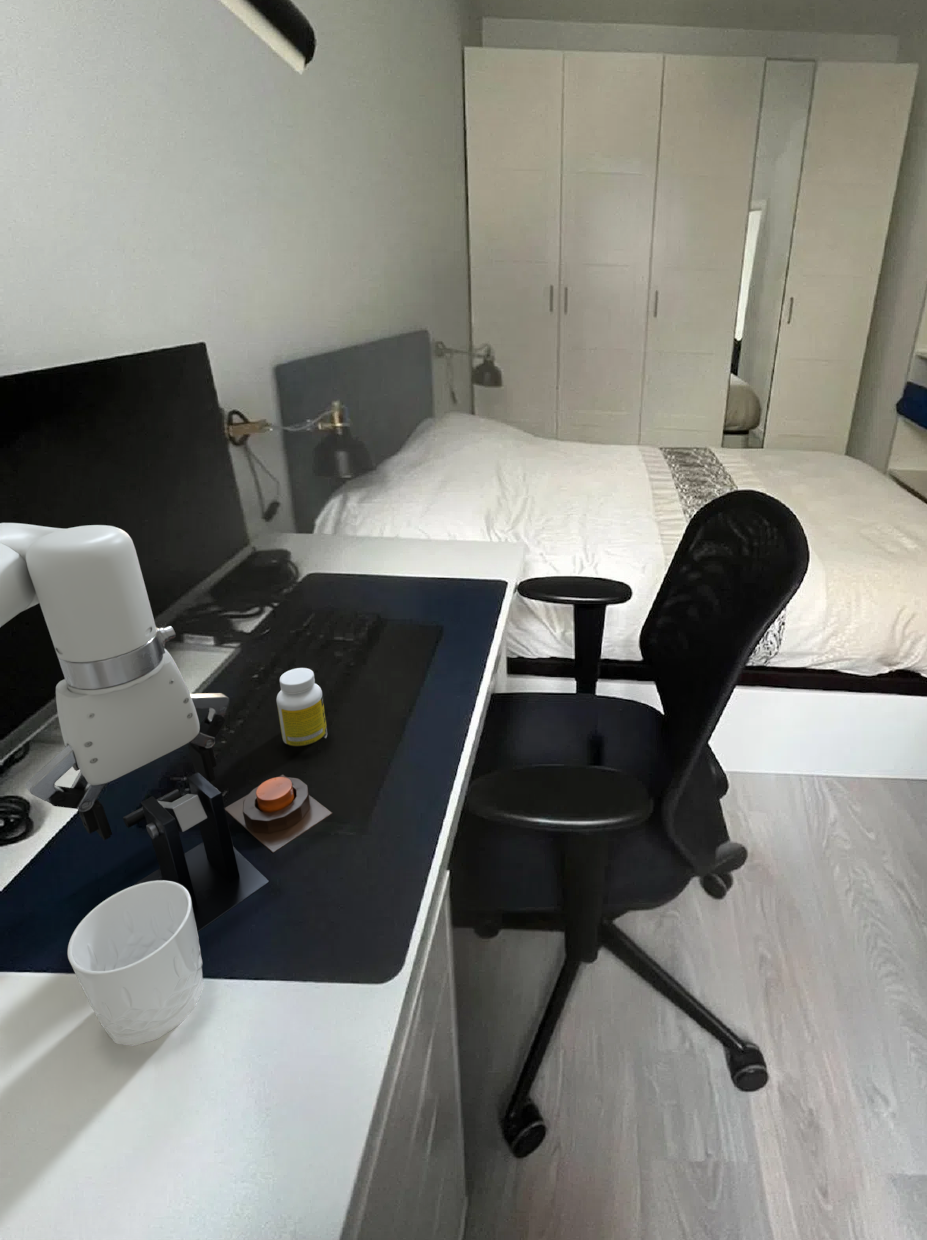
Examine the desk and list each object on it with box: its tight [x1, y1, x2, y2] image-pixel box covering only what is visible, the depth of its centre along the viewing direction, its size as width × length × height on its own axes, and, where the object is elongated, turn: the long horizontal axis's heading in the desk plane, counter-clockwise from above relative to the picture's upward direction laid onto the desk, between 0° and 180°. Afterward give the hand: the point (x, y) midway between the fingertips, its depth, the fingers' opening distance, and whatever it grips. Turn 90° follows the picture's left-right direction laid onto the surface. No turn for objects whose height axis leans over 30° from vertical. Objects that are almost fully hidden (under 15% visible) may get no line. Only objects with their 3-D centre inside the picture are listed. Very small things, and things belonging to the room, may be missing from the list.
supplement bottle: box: [275, 667, 328, 747], centre depth 83 cm, size 5×5×10 cm
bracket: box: [135, 772, 271, 933], centre depth 62 cm, size 10×8×12 cm
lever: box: [122, 788, 207, 833], centre depth 63 cm, size 12×5×2 cm, turn 54°
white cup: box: [67, 880, 205, 1047], centre depth 52 cm, size 8×8×10 cm
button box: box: [224, 774, 333, 854], centre depth 72 cm, size 10×7×3 cm
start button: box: [256, 776, 294, 813], centre depth 71 cm, size 4×4×2 cm
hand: (156, 802), depth 66 cm, fingers open, 9 cm apart
